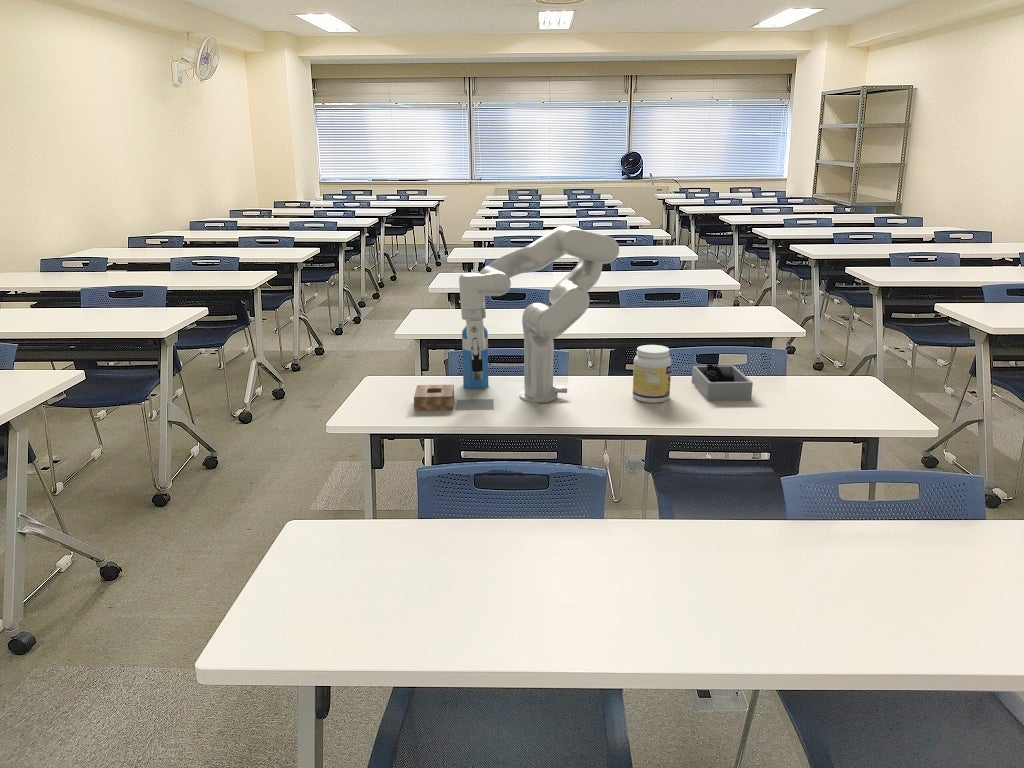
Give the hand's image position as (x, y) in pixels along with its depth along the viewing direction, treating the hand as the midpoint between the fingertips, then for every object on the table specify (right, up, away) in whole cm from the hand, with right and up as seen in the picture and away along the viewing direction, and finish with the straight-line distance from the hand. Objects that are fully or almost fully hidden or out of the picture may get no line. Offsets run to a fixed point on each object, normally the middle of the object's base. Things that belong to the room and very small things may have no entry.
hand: (477, 369), depth 235 cm
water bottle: (-2, -6, +22) cm, 23 cm away
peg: (0, -3, +1) cm, 3 cm away
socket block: (-14, -12, +4) cm, 19 cm away
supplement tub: (+57, -10, +10) cm, 58 cm away
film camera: (+81, -7, +16) cm, 83 cm away
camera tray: (+82, -7, +16) cm, 84 cm away
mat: (-1, -12, +3) cm, 12 cm away
